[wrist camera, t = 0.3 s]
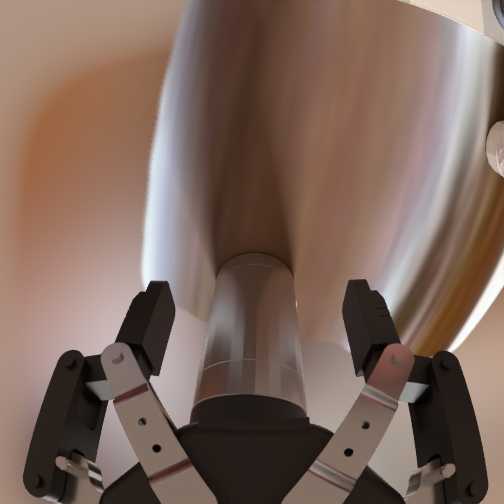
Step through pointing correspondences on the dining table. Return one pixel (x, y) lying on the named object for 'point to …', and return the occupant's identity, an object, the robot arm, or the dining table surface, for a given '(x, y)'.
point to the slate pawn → (499, 11)
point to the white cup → (496, 147)
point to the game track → (467, 15)
